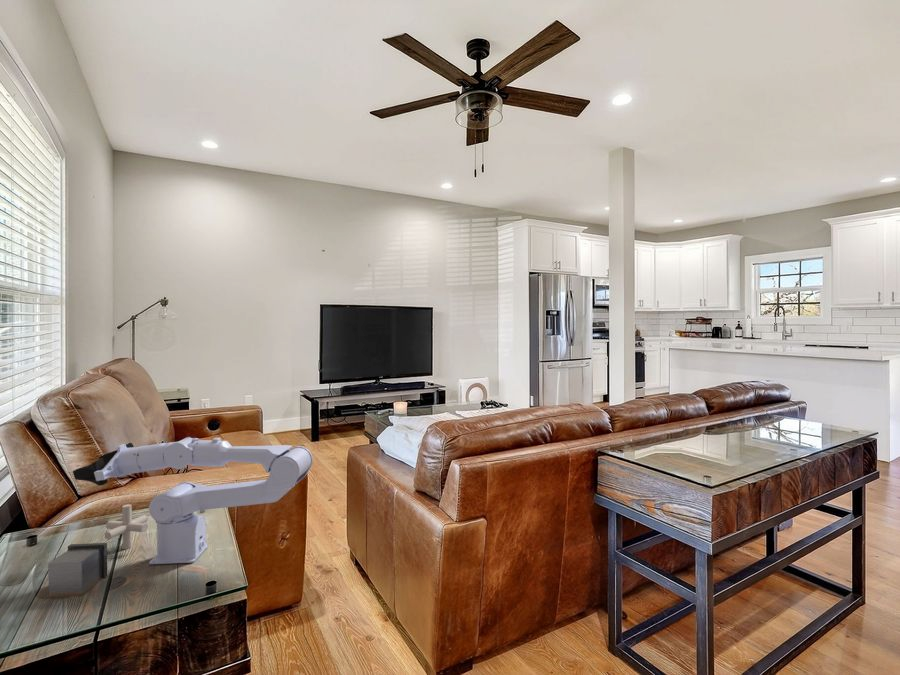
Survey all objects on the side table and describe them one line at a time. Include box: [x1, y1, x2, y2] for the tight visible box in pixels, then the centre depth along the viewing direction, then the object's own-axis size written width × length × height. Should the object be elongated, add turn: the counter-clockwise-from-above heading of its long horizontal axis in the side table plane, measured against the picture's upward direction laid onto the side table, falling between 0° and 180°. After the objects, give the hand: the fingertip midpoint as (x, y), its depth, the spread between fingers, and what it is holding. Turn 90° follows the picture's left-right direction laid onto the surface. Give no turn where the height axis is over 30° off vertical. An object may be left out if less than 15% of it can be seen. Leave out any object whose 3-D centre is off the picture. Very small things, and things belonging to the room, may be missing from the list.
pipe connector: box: [104, 504, 149, 550], centre depth 112 cm, size 10×10×10 cm
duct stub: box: [47, 542, 108, 598], centre depth 95 cm, size 7×7×7 cm
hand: (88, 467), depth 108 cm, fingers open, 7 cm apart
